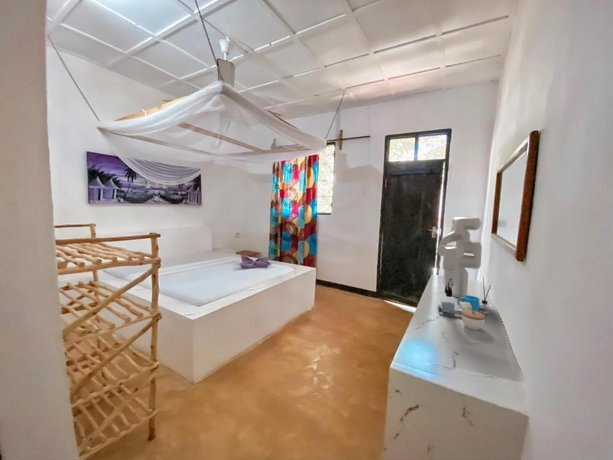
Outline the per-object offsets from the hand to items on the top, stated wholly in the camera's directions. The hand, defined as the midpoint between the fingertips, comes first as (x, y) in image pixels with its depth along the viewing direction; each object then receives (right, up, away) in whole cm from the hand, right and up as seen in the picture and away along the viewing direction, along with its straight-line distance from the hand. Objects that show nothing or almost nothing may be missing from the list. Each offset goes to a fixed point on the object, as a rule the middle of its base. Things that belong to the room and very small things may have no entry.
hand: (448, 294), depth 152 cm
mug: (+16, -11, +6) cm, 21 cm away
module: (0, -10, +1) cm, 10 cm away
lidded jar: (+2, -13, -19) cm, 23 cm away
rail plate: (+4, -12, -1) cm, 12 cm away
